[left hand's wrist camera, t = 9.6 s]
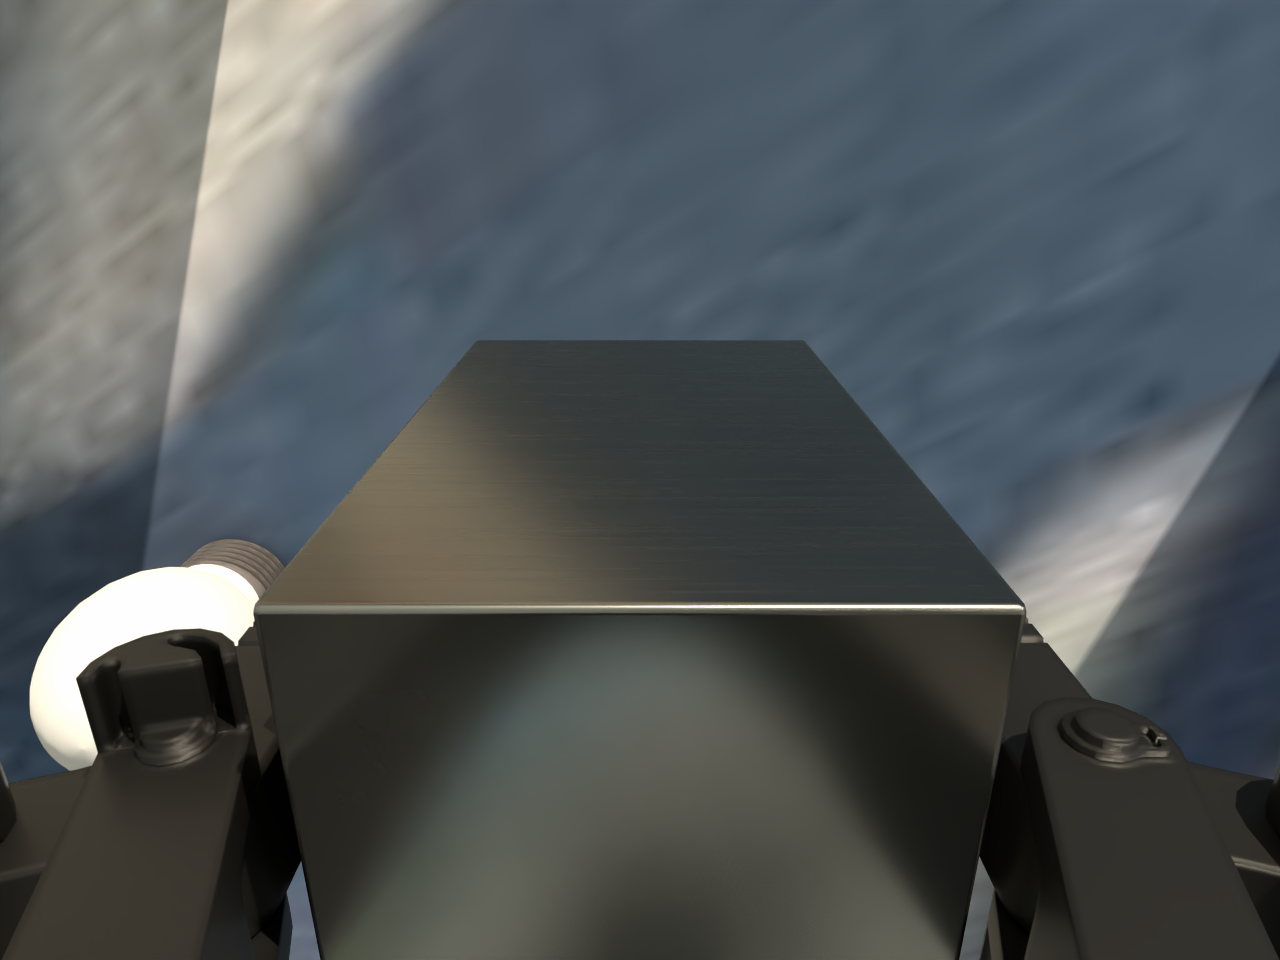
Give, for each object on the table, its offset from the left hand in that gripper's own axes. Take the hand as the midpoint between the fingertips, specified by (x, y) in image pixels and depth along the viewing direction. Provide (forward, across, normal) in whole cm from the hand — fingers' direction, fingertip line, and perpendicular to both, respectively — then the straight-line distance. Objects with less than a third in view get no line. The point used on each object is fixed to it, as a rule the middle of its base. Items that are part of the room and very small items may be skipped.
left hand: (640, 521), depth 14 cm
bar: (+1, 0, -10) cm, 10 cm away
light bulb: (+19, -17, -11) cm, 28 cm away
